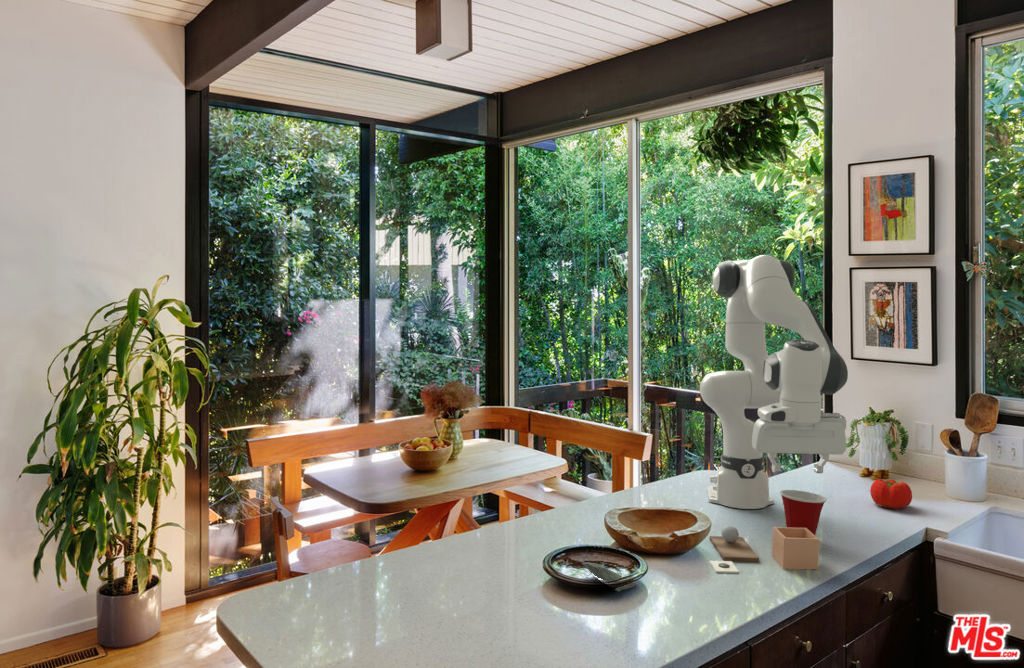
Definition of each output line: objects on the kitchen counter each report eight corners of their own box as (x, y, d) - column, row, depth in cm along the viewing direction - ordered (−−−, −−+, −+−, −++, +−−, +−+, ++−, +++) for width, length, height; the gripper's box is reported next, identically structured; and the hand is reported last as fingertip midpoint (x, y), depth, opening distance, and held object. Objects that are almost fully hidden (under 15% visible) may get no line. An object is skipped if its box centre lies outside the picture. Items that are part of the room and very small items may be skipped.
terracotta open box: (771, 556, 167) (772, 527, 167) (805, 557, 167) (806, 527, 166) (783, 569, 159) (784, 538, 159) (818, 569, 159) (819, 539, 159)
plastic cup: (835, 545, 175) (837, 497, 174) (802, 551, 171) (804, 502, 170) (800, 531, 185) (802, 486, 184) (768, 536, 181) (770, 490, 180)
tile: (709, 562, 163) (709, 559, 163) (731, 563, 163) (731, 560, 163) (715, 572, 157) (716, 570, 157) (738, 573, 157) (738, 570, 157)
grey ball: (719, 539, 176) (720, 523, 175) (736, 539, 175) (736, 523, 175) (723, 544, 172) (724, 528, 171) (740, 545, 171) (741, 528, 171)
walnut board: (709, 540, 178) (709, 536, 178) (741, 540, 177) (742, 536, 177) (723, 561, 164) (723, 556, 164) (759, 562, 163) (759, 557, 163)
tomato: (918, 507, 207) (919, 482, 207) (898, 514, 201) (899, 488, 200) (881, 498, 216) (883, 474, 215) (862, 504, 210) (863, 479, 209)
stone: (602, 574, 158) (570, 571, 152) (608, 557, 158) (576, 553, 152) (636, 596, 150) (604, 593, 144) (642, 577, 150) (610, 574, 144)
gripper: (840, 410, 164) (838, 469, 165) (750, 408, 165) (748, 467, 166) (852, 415, 157) (849, 477, 159) (759, 414, 158) (756, 475, 159)
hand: (797, 472), depth 162 cm, fingers open, 8 cm apart
